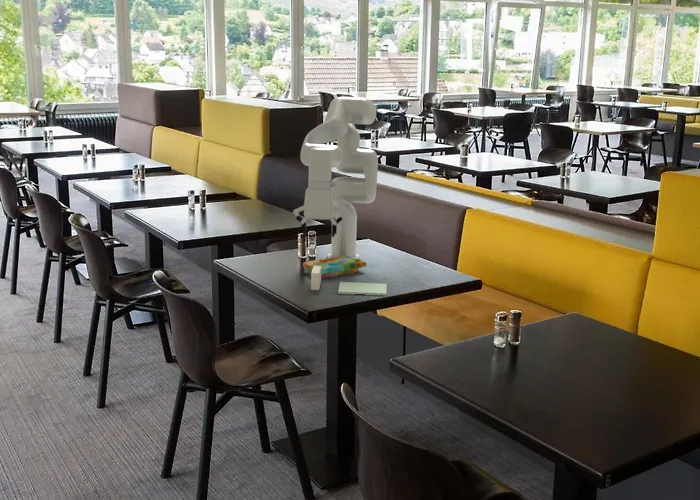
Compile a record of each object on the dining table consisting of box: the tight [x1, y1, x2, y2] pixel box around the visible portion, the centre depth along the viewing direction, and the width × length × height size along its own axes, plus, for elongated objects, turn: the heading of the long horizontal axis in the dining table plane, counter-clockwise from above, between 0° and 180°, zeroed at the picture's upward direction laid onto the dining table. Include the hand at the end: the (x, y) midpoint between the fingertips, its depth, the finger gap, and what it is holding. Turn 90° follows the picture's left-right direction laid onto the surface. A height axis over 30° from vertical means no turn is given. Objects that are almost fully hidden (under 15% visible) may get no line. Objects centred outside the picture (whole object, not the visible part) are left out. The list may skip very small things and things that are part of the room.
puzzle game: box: [302, 255, 367, 279], centre depth 287 cm, size 12×5×20 cm
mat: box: [337, 281, 388, 297], centre depth 267 cm, size 11×16×1 cm
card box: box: [310, 266, 322, 291], centre depth 269 cm, size 9×3×6 cm, turn 177°
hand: (318, 235), depth 264 cm, fingers open, 9 cm apart
